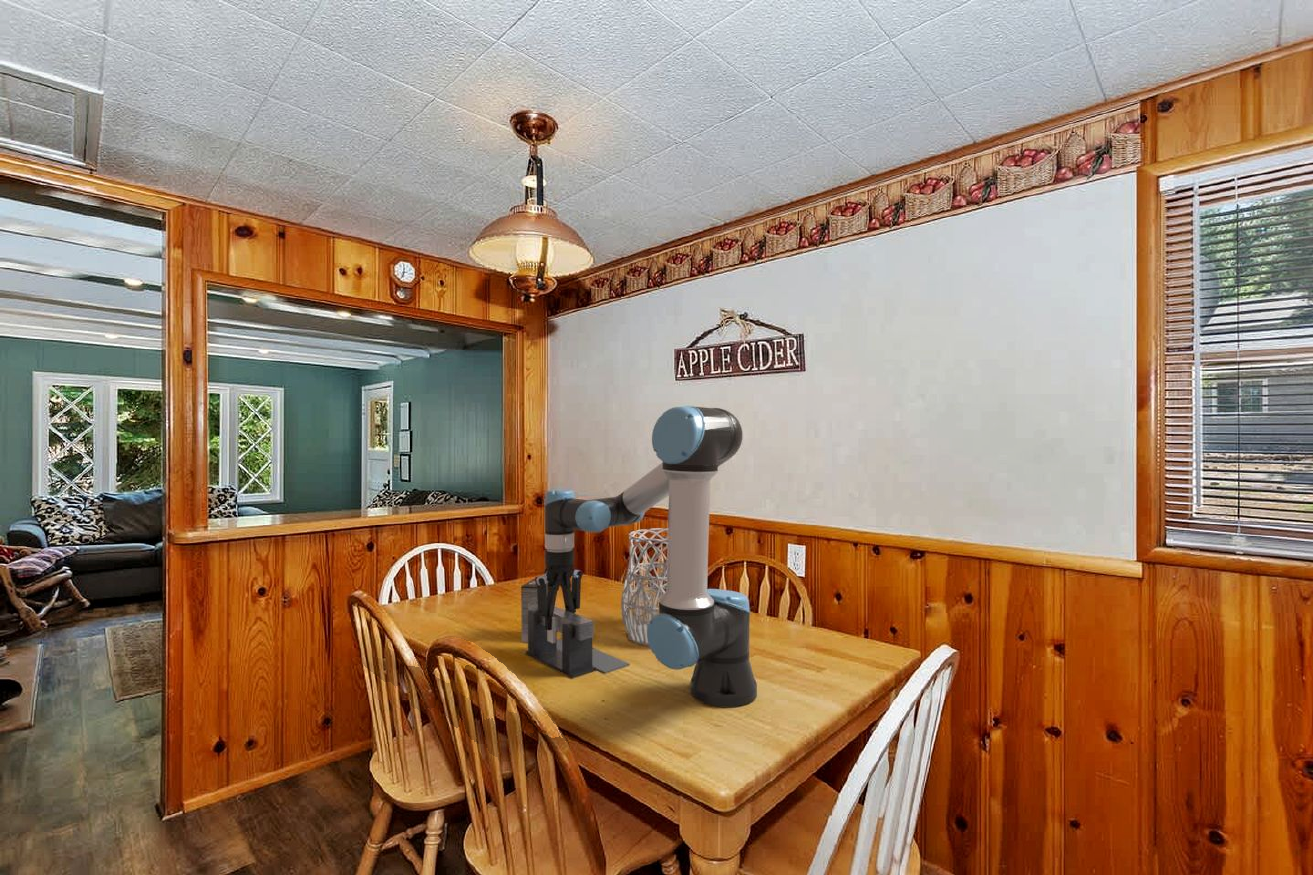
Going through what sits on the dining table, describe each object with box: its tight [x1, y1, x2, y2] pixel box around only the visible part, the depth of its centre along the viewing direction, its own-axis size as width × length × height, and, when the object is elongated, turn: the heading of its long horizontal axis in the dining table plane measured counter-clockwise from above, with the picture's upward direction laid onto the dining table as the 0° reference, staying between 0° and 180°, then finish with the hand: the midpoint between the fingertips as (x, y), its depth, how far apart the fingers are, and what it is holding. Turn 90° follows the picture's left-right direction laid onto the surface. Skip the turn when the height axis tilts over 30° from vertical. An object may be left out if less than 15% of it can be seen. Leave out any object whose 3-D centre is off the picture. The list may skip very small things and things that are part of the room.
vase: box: [620, 527, 668, 647], centre depth 177 cm, size 24×24×30 cm
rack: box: [524, 610, 597, 679], centre depth 156 cm, size 22×7×12 cm, turn 43°
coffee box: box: [520, 578, 548, 643], centre depth 174 cm, size 9×6×16 cm
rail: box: [528, 602, 595, 641], centre depth 156 cm, size 24×4×4 cm, turn 43°
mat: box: [557, 637, 631, 674], centre depth 161 cm, size 28×8×1 cm, turn 43°
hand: (559, 639), depth 156 cm, fingers closed on rail, 4 cm apart
